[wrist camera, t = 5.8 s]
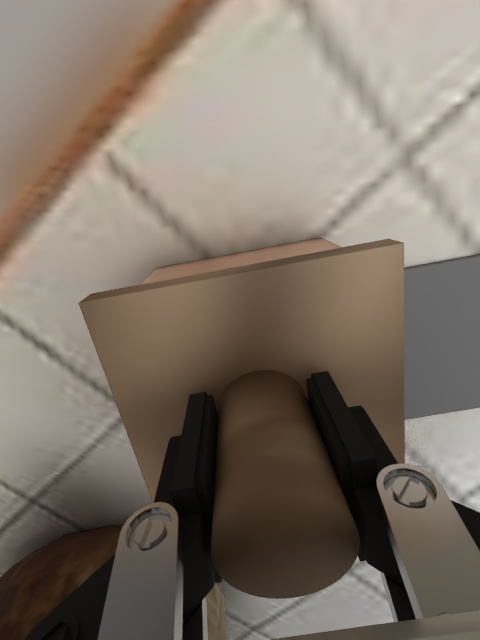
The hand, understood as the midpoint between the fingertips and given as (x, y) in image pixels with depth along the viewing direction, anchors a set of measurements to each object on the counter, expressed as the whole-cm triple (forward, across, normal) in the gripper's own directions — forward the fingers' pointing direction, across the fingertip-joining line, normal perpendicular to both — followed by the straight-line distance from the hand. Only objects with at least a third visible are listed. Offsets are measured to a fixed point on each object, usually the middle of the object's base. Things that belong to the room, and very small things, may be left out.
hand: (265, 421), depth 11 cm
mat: (+9, -10, +3) cm, 14 cm away
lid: (+2, 0, 0) cm, 2 cm away
